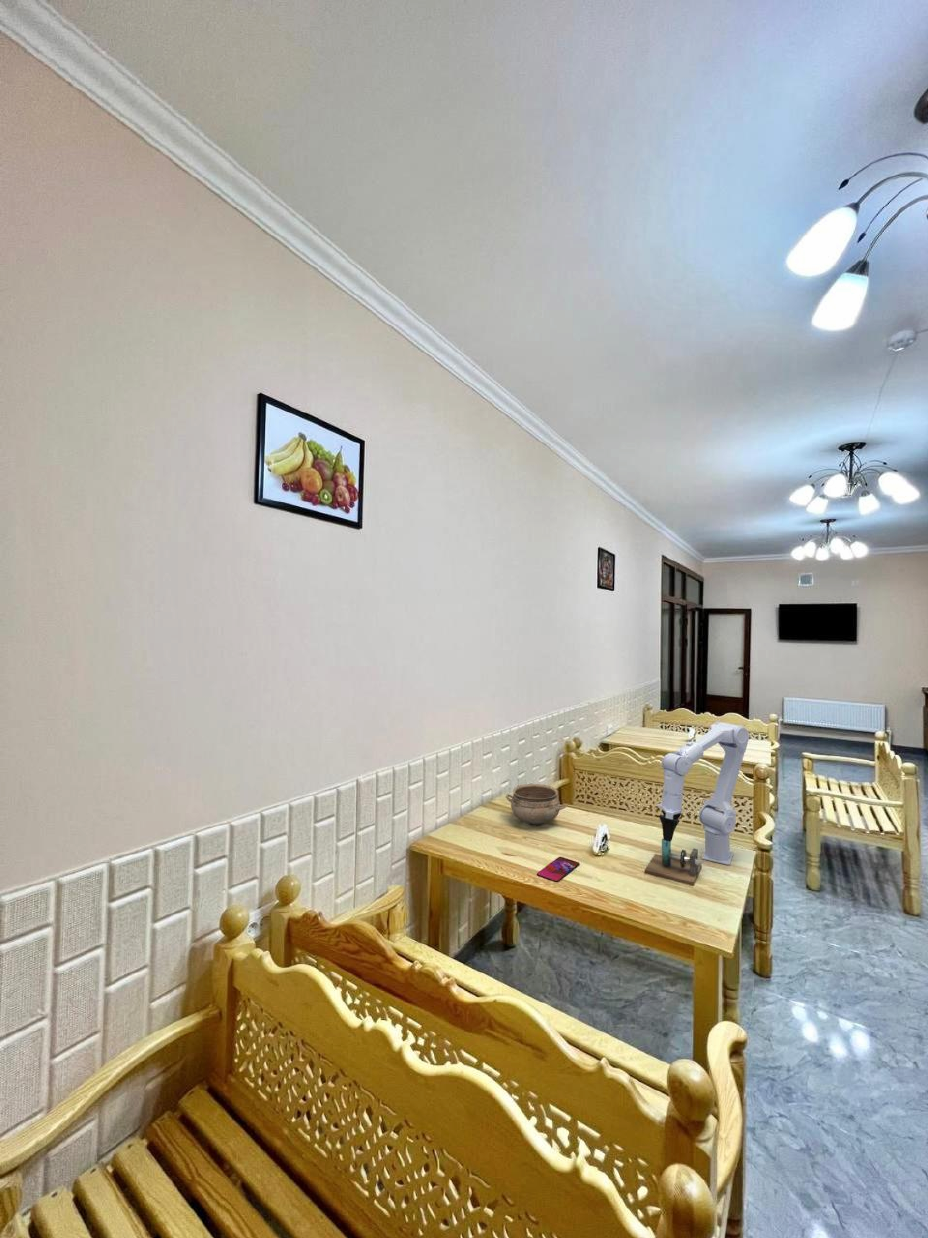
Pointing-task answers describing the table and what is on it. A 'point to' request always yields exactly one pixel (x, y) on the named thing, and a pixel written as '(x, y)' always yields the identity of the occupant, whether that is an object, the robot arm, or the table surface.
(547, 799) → the cooking pot
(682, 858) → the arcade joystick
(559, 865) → the smartphone
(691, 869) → the eye stand
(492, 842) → the table surface
